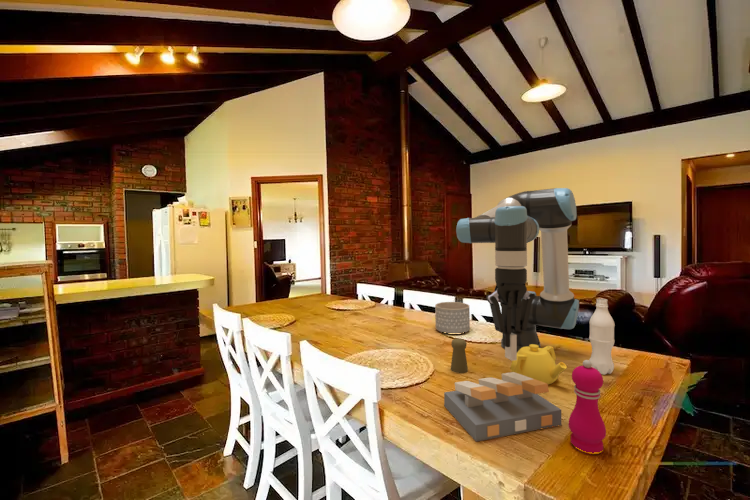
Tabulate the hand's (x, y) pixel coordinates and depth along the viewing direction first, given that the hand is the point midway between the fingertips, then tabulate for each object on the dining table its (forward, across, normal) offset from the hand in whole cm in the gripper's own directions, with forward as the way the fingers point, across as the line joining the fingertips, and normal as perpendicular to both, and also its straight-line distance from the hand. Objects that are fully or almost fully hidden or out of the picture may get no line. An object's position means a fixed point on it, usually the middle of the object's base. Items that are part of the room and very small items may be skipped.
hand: (510, 358), depth 88 cm
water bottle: (+16, -48, -18) cm, 53 cm away
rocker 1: (+9, +9, -3) cm, 13 cm away
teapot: (+16, -24, -18) cm, 34 cm away
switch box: (+17, +1, -3) cm, 17 cm away
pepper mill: (+17, -10, +14) cm, 24 cm away
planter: (+16, -22, -77) cm, 82 cm away
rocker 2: (+8, +1, -3) cm, 9 cm away
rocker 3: (+8, -6, -3) cm, 11 cm away
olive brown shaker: (+16, -3, -33) cm, 37 cm away
